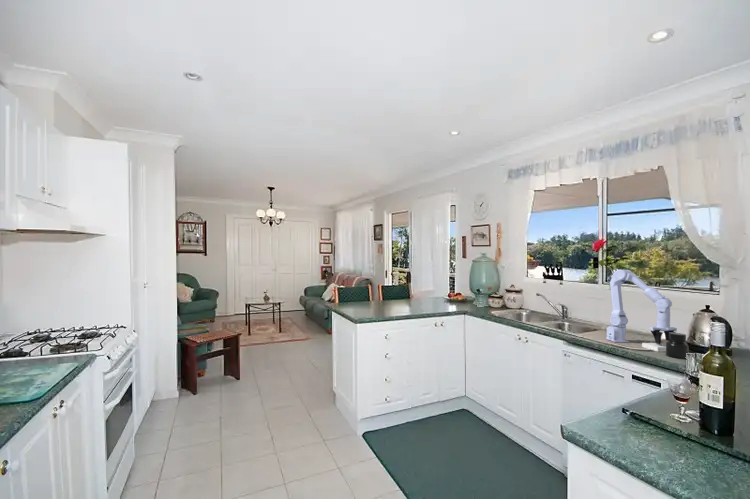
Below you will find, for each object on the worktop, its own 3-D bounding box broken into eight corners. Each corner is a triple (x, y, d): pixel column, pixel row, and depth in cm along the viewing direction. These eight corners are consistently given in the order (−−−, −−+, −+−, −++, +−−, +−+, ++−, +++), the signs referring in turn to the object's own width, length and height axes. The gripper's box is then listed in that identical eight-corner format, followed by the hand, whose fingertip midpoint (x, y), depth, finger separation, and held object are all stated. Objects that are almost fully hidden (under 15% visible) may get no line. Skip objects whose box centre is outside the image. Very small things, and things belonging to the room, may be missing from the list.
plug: (662, 349, 193) (662, 340, 194) (656, 347, 197) (656, 338, 198) (669, 349, 194) (669, 340, 194) (662, 347, 198) (663, 339, 198)
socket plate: (657, 351, 190) (657, 346, 190) (642, 347, 200) (642, 341, 200) (684, 352, 191) (684, 346, 191) (667, 347, 201) (668, 342, 201)
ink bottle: (692, 358, 178) (692, 335, 178) (685, 360, 173) (685, 336, 174) (669, 353, 186) (669, 331, 187) (661, 355, 182) (661, 332, 182)
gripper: (657, 320, 191) (657, 345, 191) (682, 321, 193) (681, 345, 192) (646, 318, 198) (646, 342, 198) (670, 318, 200) (669, 342, 199)
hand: (663, 343), depth 196 cm, fingers open, 6 cm apart
